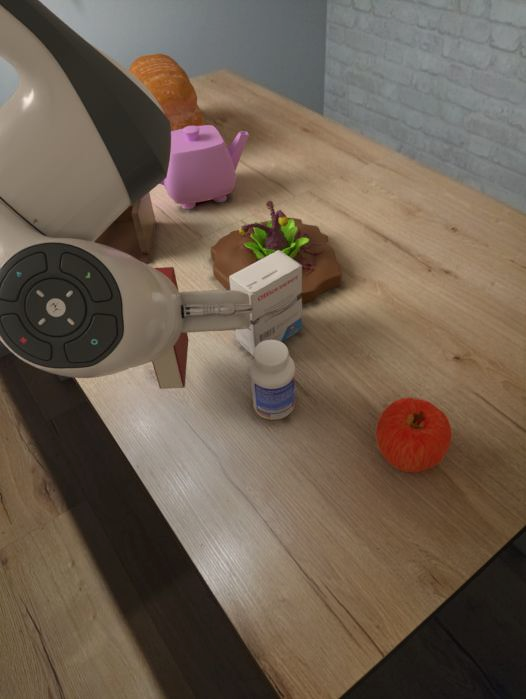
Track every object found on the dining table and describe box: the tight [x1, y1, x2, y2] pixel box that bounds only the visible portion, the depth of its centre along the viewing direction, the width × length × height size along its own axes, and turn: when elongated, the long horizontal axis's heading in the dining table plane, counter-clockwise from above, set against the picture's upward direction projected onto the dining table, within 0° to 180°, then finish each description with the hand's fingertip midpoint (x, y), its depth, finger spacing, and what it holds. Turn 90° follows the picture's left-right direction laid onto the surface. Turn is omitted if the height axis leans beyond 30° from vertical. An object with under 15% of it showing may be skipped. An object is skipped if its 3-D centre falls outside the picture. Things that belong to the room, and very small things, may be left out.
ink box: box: [229, 250, 303, 356], centre depth 69 cm, size 8×5×12 cm, turn 130°
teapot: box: [158, 124, 250, 210], centre depth 95 cm, size 20×12×13 cm, turn 109°
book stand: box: [94, 192, 157, 265], centre depth 85 cm, size 16×12×13 cm
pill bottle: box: [248, 340, 296, 421], centre depth 61 cm, size 5×5×10 cm
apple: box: [375, 397, 453, 473], centre depth 57 cm, size 8×8×8 cm
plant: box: [210, 200, 342, 305], centre depth 79 cm, size 20×20×11 cm
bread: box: [128, 53, 207, 131], centre depth 110 cm, size 14×26×15 cm, turn 19°
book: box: [151, 266, 189, 390], centre depth 60 cm, size 3×8×12 cm, turn 2°
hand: (161, 316), depth 57 cm, fingers closed on book, 3 cm apart
